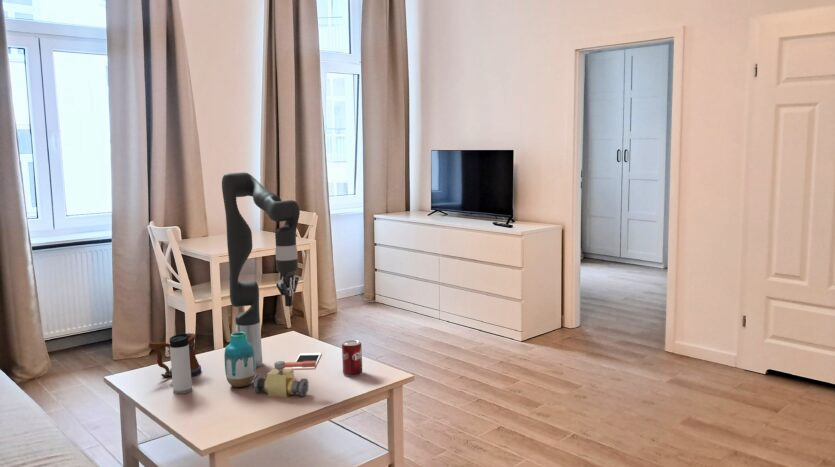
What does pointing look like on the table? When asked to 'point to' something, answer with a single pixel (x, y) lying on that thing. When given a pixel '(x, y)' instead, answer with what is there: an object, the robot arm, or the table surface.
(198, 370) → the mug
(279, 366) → the lever
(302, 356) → the cell phone
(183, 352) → the travel mug
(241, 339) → the vase
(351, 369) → the soda can
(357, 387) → the table surface
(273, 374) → the valve pipe
